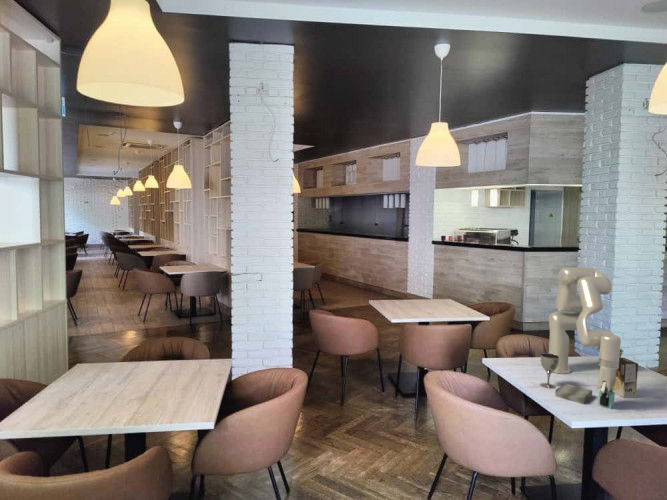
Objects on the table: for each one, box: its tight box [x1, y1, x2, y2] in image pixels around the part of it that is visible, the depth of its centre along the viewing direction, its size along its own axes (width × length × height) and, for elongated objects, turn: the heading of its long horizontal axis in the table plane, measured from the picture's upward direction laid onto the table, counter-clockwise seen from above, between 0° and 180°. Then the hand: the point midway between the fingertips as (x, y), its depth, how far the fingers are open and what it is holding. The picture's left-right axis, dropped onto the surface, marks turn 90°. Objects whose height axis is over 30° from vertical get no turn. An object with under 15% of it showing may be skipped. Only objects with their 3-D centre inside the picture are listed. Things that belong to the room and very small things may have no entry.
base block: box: [554, 383, 593, 405], centre depth 207 cm, size 12×12×3 cm
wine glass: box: [539, 352, 559, 390], centre depth 219 cm, size 8×8×15 cm
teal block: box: [597, 389, 616, 409], centre depth 198 cm, size 5×5×6 cm
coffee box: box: [613, 357, 639, 399], centre depth 211 cm, size 9×6×16 cm
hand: (605, 403), depth 198 cm, fingers closed on teal block, 4 cm apart
